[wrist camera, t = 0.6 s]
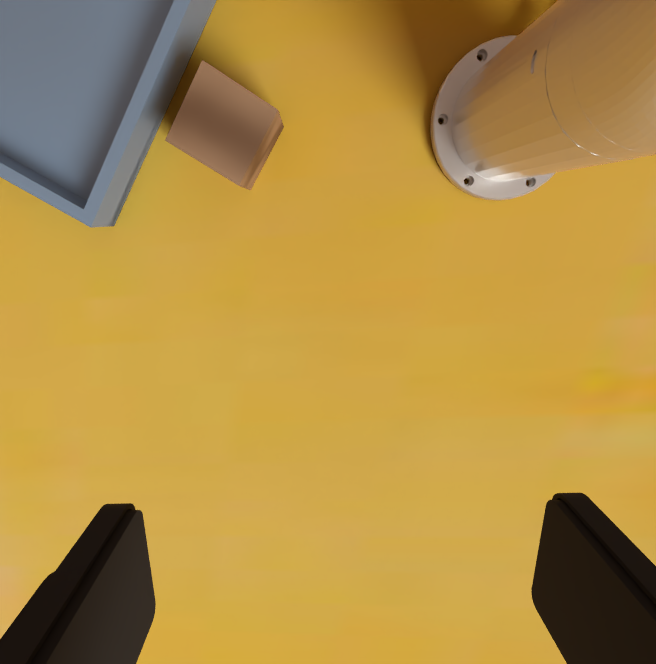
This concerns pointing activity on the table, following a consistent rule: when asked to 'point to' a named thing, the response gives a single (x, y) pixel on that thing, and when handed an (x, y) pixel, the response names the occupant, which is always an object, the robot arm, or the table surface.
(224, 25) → the table surface
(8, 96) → the slate tray
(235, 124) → the walnut block
